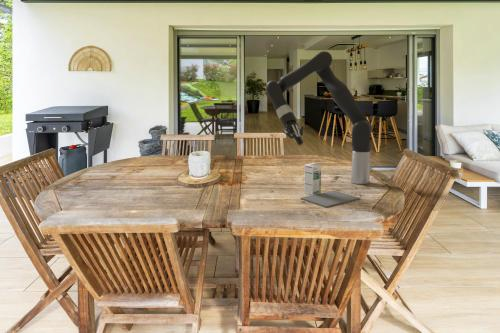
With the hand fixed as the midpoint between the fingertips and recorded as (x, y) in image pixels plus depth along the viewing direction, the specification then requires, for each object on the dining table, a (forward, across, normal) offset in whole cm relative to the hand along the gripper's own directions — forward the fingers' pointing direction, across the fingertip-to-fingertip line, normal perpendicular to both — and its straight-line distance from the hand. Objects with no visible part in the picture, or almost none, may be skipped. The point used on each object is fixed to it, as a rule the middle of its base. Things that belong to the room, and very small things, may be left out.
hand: (301, 144), depth 190 cm
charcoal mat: (+31, +4, +4) cm, 32 cm away
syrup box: (+24, +3, -6) cm, 25 cm away
